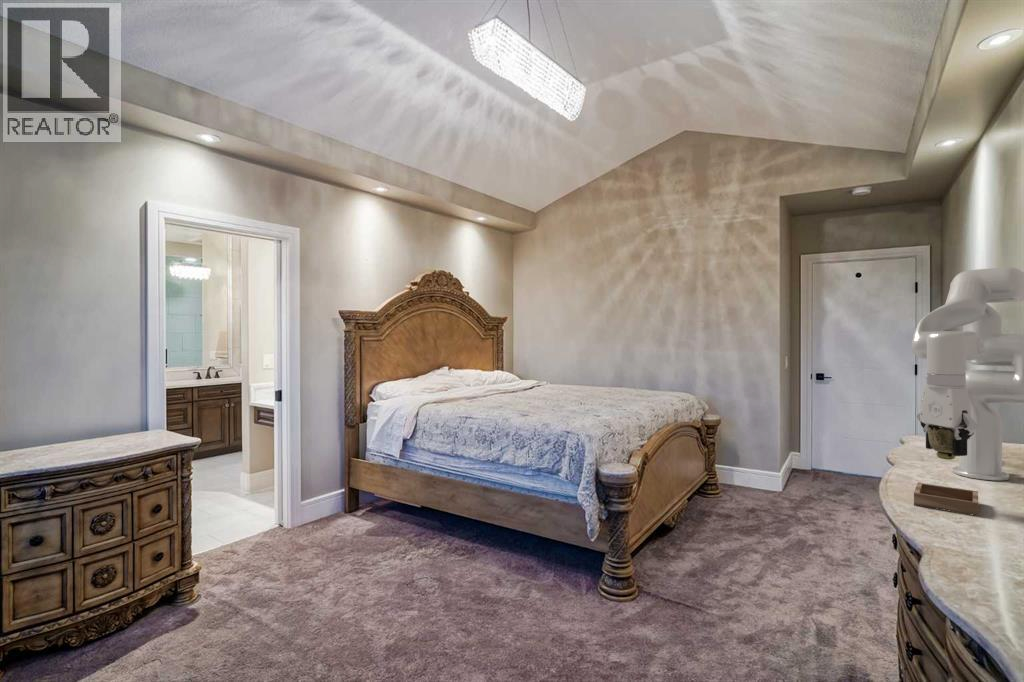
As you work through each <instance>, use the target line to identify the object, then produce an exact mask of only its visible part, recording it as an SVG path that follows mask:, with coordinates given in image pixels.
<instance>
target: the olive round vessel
mask: <svg viewBox="0 0 1024 682" xmlns="http://www.w3.org/2000/svg"><path fill="white" fill-rule="evenodd" d="M927 430H928V437H929V442H930V445H931V447H932V448H933V449H932V450H934V451H935V452H936V453H935V454H936V457H937V458H939V459H942V460H946V461H947V460H951V461H952V460H954V459H956V457H957V456H954V455H953V439H955V436H954V434H953V432H952V429H951V428H944V427H938V428H937V426H932V427H930V426H929V425H928V426H927ZM962 431H963V429H962V430H959V433H961V432H962Z"/></svg>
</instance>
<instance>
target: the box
mask: <svg viewBox="0 0 1024 682" xmlns="http://www.w3.org/2000/svg"><path fill="white" fill-rule="evenodd" d="M915 505H916V507H921V506H922V507H921V508H927V507H930V508H929V509H933V508H938V509H937V510H939V509H945V510H950V511H949V512H951V511H954V512H953V513H957V512H959V513H958V514H963V513H965V514H964V515H969V514H973V515H972V516H974V515H978V516H979V491H977V490H971V489H966V488H965V489H964V488H957V487H951V486H946V485H945V486H944V485H943V486H942V485H939V484H938V485H937V484H930V483H921V482H917V483H916V486H915V489H914V492H913V506H915ZM945 510H944V511H945Z"/></svg>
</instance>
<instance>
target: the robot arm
mask: <svg viewBox="0 0 1024 682" xmlns="http://www.w3.org/2000/svg"><path fill="white" fill-rule="evenodd" d="M1022 301H1024V271H1022V270H1020V269H1018V268H1014V267H1003V266H1002V267H994V268H993V267H990V268H980V269H978V268H977V269H969V270H965V271H962V272H959V273H958V274H956V275H955V276H954V278H953V279H952V281H951V282H950V285H949V291H948V294H947V297H946V301H945V303H944V305H941V306H939V307H937V308H935V309H934V310H932V311H930V312H929V313H927V314H926V315H925V316H923V317H922V318H921V319H920V320H919V321H918V324H917V325H916V328H915V330H914V334H913V337H912V341H911V349H912V353H913V354H914V356H916V357H917V358H918V359H922V360H926V376H925V380H926V385H925V384H924V386H923V389H922V393H921V397H920V398H921V399H920V409H919V410H920V412H919V413H918V414H916V418H917V420H918V422H919V423H920V426H921V427H922V429H923V430H922V431H923V433H925V448H926V449H927V450H934V449H933V448H932V447H931V445H930V442H929V437H928V430H927V426H928V425H929V426H930V427H932V426H937V428H938V427H939V428H941V427H944V428H951V429H952V432H953V434H954V436H955V439H953V455H954V456H956V457H959V459H958V465H956V466H953V467H952V472H953V473H954V474H955V475H959V476H962V477H966V478H971V479H976V480H982V481H983V480H984V481H999V482H1000V481H1007V480H1010V474H1009V473H1008V472H1005V471H1003V467H1005V466H1006V465H1007V462H1006V461H1005V460H1003V419H1002V416H1001V414H1000V413H999V411H997V410H996V408H995V407H994V406H993V405H992V404H1006V405H1023V406H1024V333H1003V332H1002V321H1003V318H1002V316H1001V315H1000V313H999V312H998V311H997V310H996V309H995V308H993V307H992V306H991V305H989V304H990V303H991V304H993V303H995V304H996V303H1015V302H1016V303H1017V302H1022ZM962 326H963V330H962V331H961V330H959V331H958V330H951V329H955V328H959V327H962ZM967 364H969V365H974V366H986V367H987V366H991V367H993V366H995V367H1010V368H1013V369H1014V370H996V369H994V370H993V369H991V370H990V369H989V370H988V369H969V370H967V369H966V368H967V366H966V365H967ZM962 429H963V431H962V432H961V433H959V430H962Z"/></svg>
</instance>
